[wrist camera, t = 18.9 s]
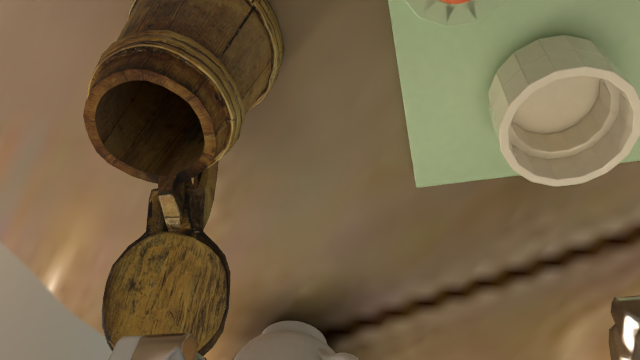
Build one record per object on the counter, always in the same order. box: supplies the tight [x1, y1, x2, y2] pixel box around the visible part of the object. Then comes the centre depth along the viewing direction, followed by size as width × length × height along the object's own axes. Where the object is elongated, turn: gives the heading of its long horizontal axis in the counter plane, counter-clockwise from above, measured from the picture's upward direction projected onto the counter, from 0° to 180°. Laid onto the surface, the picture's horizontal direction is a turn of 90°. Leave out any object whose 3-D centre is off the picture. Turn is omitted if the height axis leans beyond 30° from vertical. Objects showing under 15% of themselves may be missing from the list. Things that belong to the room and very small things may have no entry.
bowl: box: [488, 35, 640, 186], centre depth 31 cm, size 7×7×4 cm
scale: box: [388, 0, 640, 188], centre depth 32 cm, size 16×14×4 cm
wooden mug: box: [83, 0, 284, 356], centre depth 29 cm, size 9×14×18 cm, turn 8°
